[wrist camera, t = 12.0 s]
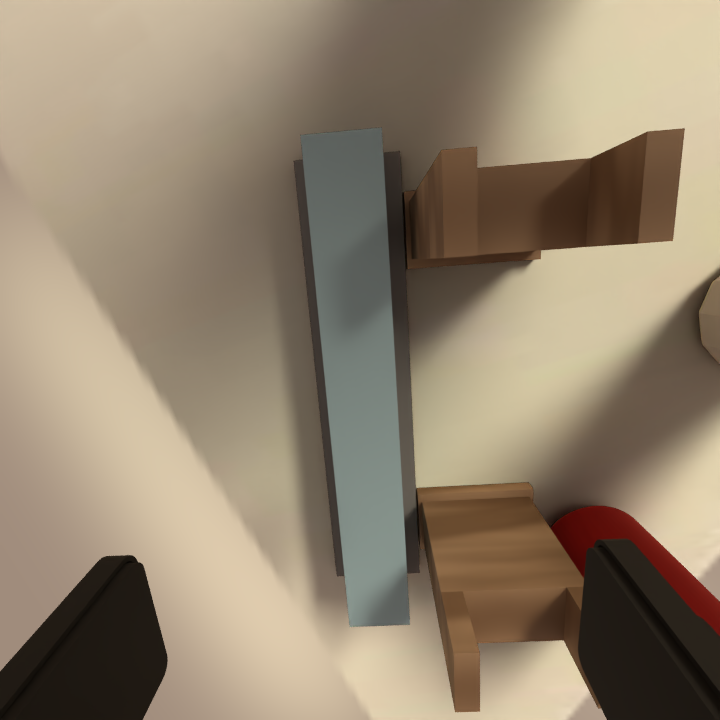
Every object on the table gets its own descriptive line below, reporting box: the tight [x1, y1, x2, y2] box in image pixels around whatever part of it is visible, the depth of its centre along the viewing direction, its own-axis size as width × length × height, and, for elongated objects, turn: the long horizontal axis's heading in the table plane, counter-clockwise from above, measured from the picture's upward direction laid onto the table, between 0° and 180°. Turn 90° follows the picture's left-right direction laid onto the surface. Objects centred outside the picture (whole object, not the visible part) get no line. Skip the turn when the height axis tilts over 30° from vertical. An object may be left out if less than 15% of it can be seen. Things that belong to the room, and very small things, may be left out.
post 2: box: [417, 482, 601, 712], centre depth 21 cm, size 4×7×11 cm, turn 94°
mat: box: [294, 151, 420, 576], centre depth 25 cm, size 26×6×1 cm, turn 4°
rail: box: [300, 127, 410, 627], centre depth 22 cm, size 26×4×4 cm, turn 4°
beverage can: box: [550, 506, 720, 636], centre depth 21 cm, size 7×7×12 cm
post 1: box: [403, 128, 685, 269], centre depth 17 cm, size 4×7×11 cm, turn 94°
